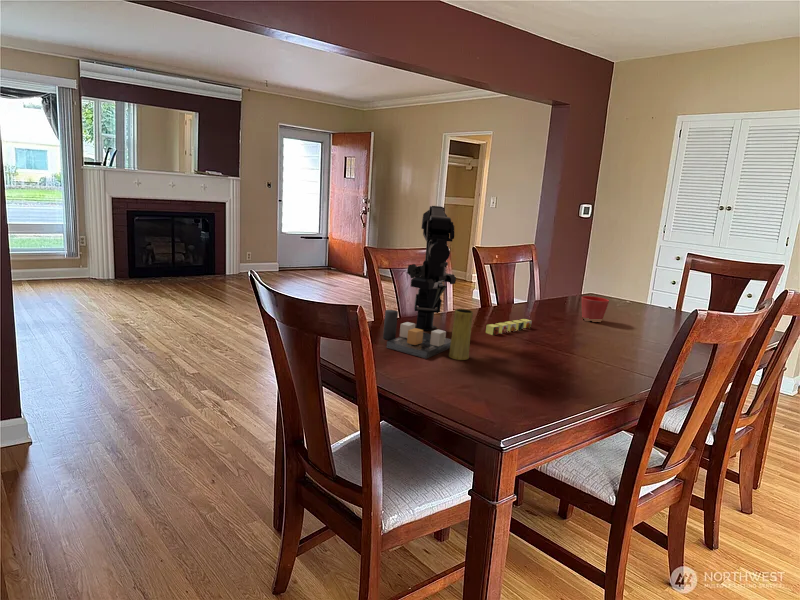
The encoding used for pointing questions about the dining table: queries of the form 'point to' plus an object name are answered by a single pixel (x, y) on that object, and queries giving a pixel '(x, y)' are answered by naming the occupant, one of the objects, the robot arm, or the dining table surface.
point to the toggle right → (438, 337)
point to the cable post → (390, 324)
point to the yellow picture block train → (508, 326)
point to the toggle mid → (415, 336)
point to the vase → (461, 334)
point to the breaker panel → (418, 346)
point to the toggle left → (406, 329)
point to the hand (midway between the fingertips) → (431, 307)
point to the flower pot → (594, 307)
